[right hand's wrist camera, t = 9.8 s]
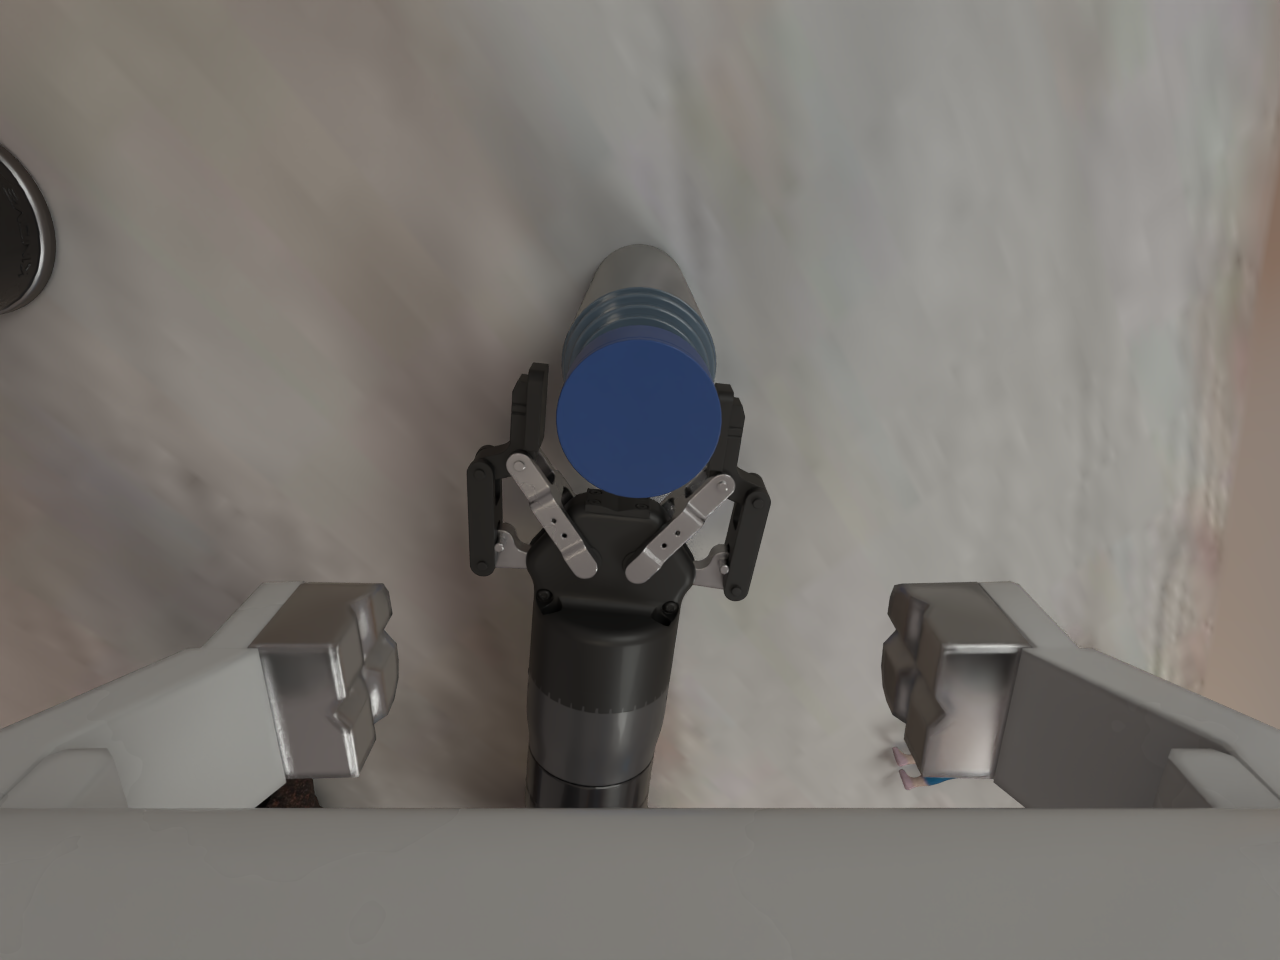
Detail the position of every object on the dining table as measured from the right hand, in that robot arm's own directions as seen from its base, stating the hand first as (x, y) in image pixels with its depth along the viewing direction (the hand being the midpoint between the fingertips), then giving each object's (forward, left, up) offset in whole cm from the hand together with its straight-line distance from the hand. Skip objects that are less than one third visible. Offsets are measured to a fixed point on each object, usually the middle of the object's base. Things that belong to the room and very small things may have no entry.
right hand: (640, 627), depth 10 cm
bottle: (0, 0, -32) cm, 32 cm away
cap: (0, 0, -10) cm, 10 cm away
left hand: (+3, +1, -26) cm, 26 cm away
